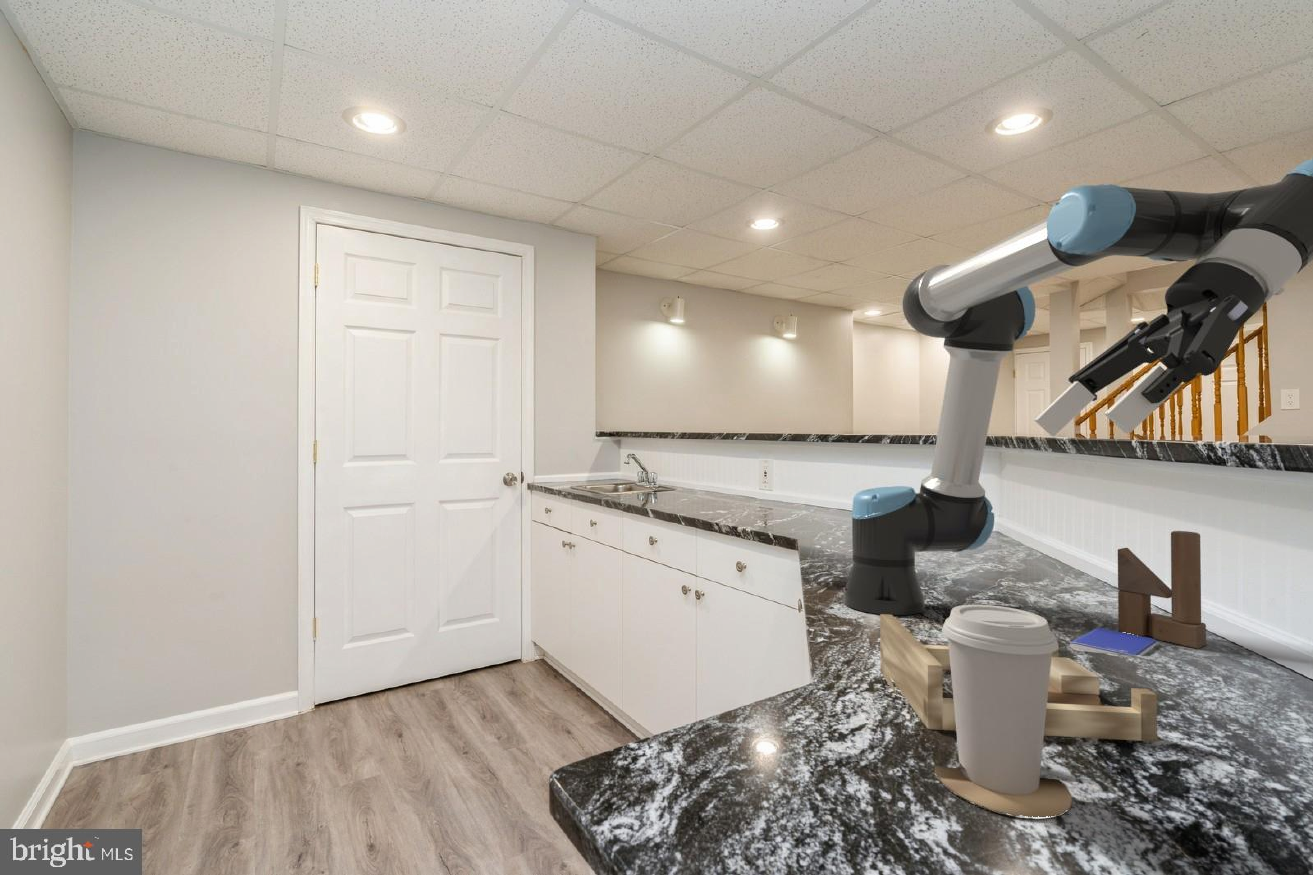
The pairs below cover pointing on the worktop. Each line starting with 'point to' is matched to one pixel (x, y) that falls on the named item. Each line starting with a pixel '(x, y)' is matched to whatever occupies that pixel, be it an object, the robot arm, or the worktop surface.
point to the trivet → (1039, 803)
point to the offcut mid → (1071, 697)
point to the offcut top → (1072, 677)
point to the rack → (923, 689)
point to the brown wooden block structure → (1163, 594)
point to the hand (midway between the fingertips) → (1076, 426)
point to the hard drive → (1113, 642)
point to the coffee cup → (1000, 693)
